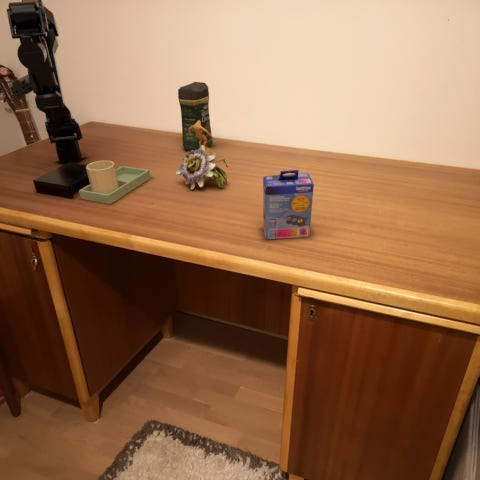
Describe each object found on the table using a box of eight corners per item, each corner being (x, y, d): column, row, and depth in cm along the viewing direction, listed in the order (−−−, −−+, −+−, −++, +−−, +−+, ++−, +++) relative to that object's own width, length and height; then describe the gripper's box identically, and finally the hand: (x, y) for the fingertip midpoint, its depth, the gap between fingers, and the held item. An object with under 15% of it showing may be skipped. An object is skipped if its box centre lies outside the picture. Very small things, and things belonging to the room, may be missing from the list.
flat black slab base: (72, 174, 133) (68, 162, 131) (105, 179, 129) (102, 166, 127) (36, 192, 123) (32, 180, 121) (71, 199, 119) (68, 186, 117)
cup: (104, 185, 124) (98, 159, 120) (124, 188, 121) (119, 162, 117) (87, 195, 119) (80, 168, 115) (108, 198, 117) (102, 171, 112)
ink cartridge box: (265, 241, 98) (264, 174, 89) (262, 229, 102) (261, 164, 93) (311, 237, 98) (315, 170, 89) (306, 225, 103) (310, 160, 94)
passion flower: (195, 208, 124) (165, 172, 119) (213, 186, 131) (184, 151, 126) (223, 192, 117) (192, 153, 112) (240, 169, 123) (211, 131, 118)
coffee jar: (201, 153, 142) (195, 87, 131) (179, 150, 145) (172, 86, 134) (216, 144, 149) (212, 80, 138) (195, 141, 152) (190, 79, 141)
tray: (123, 173, 132) (121, 165, 130) (150, 178, 129) (149, 169, 127) (81, 199, 119) (78, 190, 118) (110, 204, 116) (108, 195, 114)
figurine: (221, 160, 137) (218, 118, 130) (210, 167, 133) (206, 124, 126) (198, 156, 141) (194, 115, 133) (186, 163, 137) (182, 120, 129)
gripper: (5, 60, 120) (25, 123, 129) (3, 73, 106) (25, 142, 116) (50, 56, 122) (66, 118, 132) (53, 67, 109) (71, 136, 118)
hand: (56, 128), depth 124 cm, fingers open, 9 cm apart
